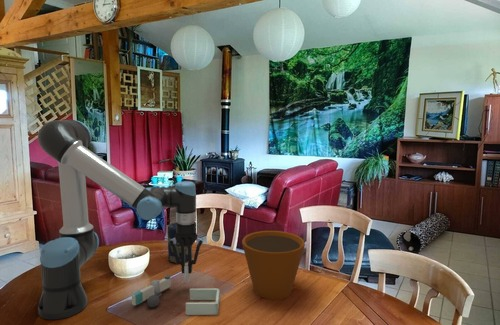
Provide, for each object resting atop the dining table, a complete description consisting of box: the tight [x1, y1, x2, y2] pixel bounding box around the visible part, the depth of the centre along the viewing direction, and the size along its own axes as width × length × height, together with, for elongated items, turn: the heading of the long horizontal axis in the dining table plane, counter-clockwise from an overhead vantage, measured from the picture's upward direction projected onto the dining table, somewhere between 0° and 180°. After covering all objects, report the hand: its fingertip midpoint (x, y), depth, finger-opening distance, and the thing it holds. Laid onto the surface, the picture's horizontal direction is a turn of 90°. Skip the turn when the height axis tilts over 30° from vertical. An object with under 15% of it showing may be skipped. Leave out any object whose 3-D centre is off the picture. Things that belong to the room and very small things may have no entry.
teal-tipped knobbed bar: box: [131, 274, 172, 306], centre depth 131 cm, size 3×17×5 cm, turn 147°
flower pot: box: [241, 230, 306, 300], centre depth 137 cm, size 24×24×20 cm
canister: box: [167, 222, 188, 264], centre depth 164 cm, size 10×10×18 cm
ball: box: [146, 295, 160, 308], centre depth 125 cm, size 4×4×4 cm
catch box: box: [185, 288, 221, 316], centre depth 125 cm, size 11×11×4 cm
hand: (186, 280), depth 138 cm, fingers closed
